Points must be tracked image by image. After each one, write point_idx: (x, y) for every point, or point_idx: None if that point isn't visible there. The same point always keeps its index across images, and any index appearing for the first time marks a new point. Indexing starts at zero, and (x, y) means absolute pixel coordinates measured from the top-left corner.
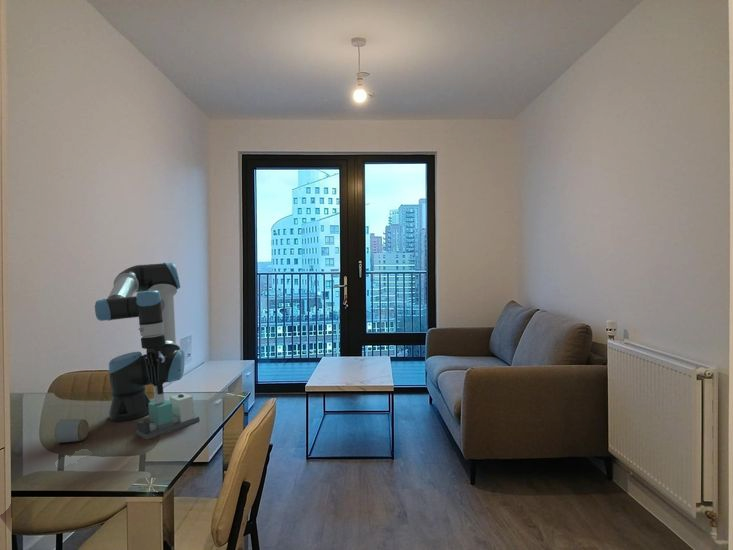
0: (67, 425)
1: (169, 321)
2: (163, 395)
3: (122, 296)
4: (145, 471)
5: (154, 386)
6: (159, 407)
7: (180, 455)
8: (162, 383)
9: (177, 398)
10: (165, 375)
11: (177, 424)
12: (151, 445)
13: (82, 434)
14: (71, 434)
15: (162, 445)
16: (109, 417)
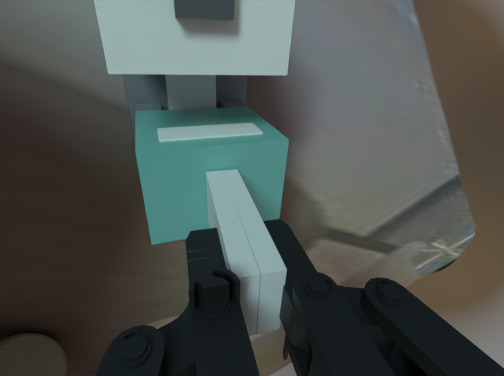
0: None
1: None
2: (248, 197)
3: None
4: (402, 246)
5: (264, 323)
6: (279, 210)
7: (424, 173)
8: (358, 297)
9: (225, 53)
10: (494, 368)
11: (247, 82)
12: (296, 203)
13: (51, 356)
14: None
15: (328, 182)
16: None
